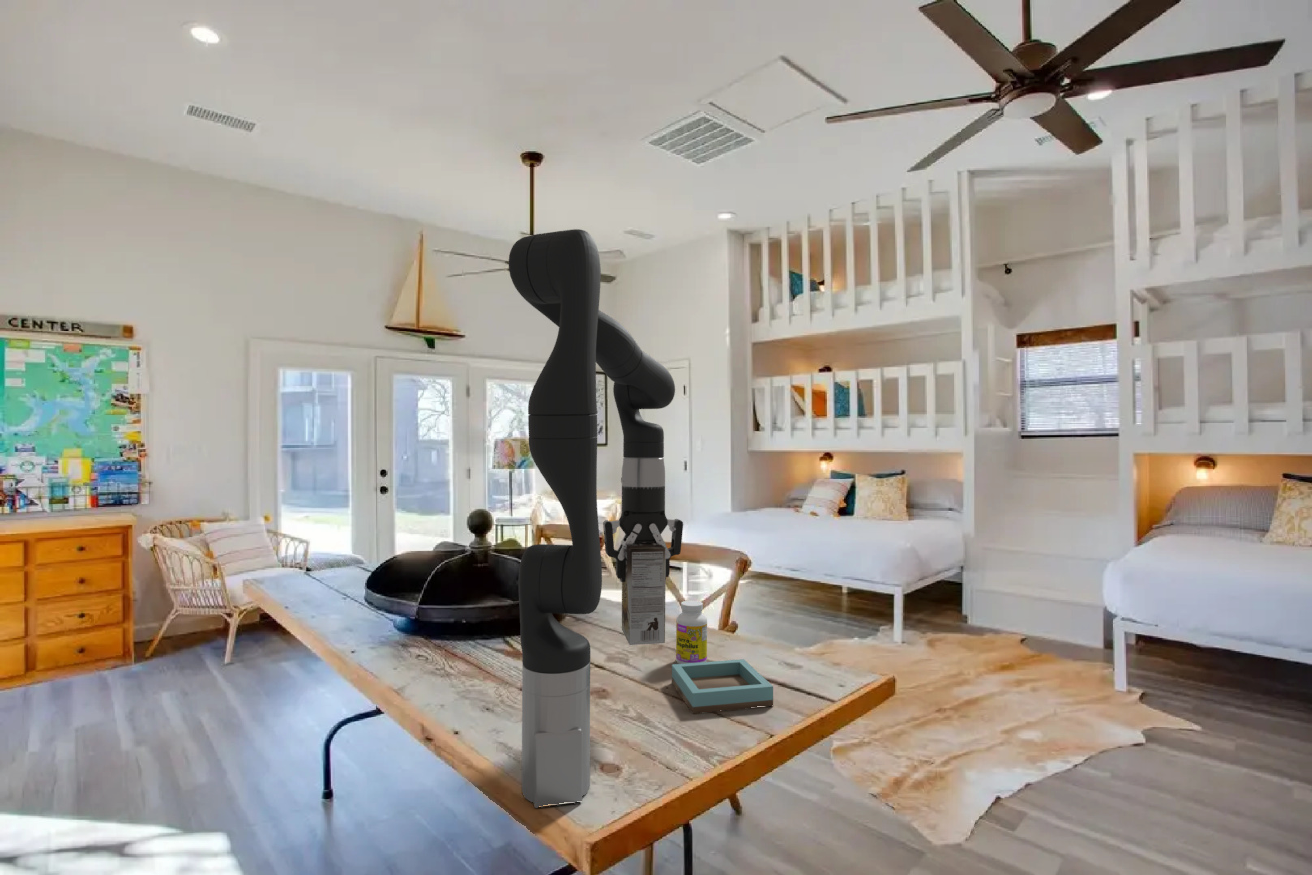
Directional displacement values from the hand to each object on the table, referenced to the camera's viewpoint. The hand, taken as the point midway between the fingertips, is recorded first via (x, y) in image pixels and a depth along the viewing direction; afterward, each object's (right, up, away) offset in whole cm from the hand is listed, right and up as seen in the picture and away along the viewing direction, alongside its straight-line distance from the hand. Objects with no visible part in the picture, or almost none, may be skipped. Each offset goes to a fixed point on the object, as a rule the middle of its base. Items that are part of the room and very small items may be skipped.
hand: (642, 580), depth 112 cm
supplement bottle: (+10, -24, +28) cm, 38 cm away
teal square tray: (+14, -24, +10) cm, 30 cm away
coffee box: (0, -10, 0) cm, 10 cm away
